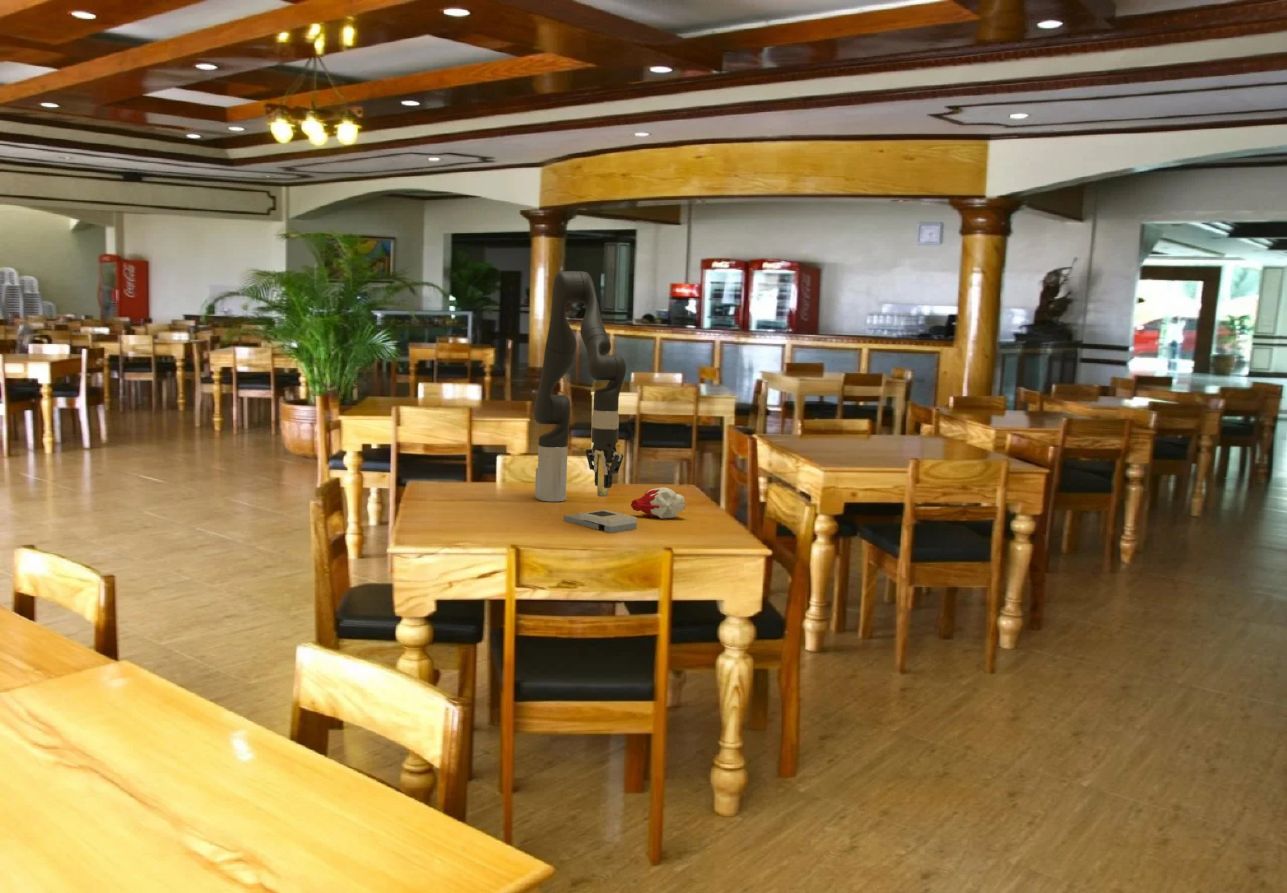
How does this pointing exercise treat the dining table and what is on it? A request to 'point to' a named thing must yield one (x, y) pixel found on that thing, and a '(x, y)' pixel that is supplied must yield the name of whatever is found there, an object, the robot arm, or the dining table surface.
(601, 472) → the pin
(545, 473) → the robot arm
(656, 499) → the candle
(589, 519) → the grey slotted base plate
